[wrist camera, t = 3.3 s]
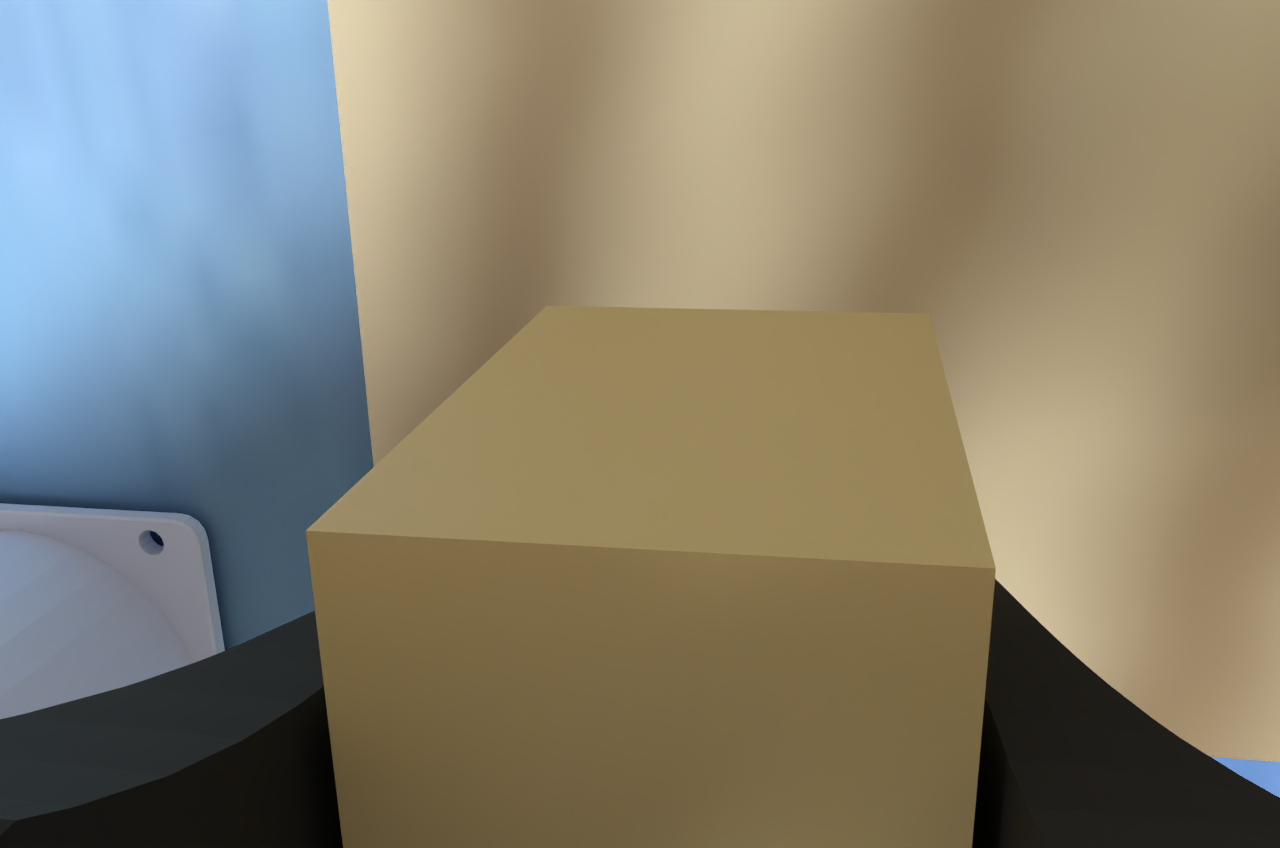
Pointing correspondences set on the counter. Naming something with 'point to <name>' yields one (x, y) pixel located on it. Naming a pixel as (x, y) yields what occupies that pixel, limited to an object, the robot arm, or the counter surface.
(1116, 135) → the shelf board
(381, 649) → the carton
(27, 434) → the counter surface
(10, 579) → the robot arm
